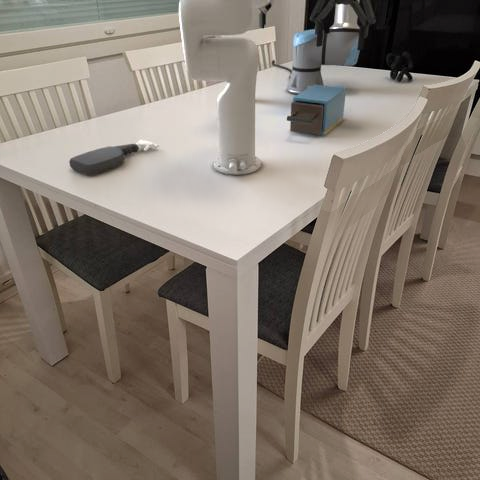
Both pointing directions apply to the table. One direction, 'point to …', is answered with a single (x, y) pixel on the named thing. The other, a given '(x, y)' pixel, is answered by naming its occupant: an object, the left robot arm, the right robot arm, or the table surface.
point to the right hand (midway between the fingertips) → (339, 48)
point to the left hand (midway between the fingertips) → (246, 28)
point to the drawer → (306, 117)
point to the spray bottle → (106, 157)
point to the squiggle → (399, 66)
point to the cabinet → (326, 103)
